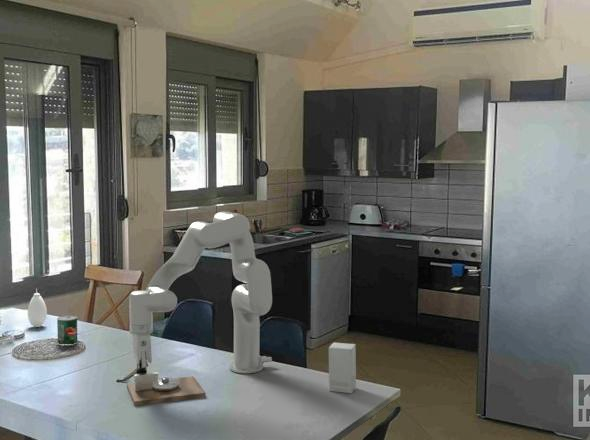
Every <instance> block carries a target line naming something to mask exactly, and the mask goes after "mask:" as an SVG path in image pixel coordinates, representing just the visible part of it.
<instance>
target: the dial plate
mask: <svg viewBox="0 0 590 440" xmlns="http://www.w3.org/2000/svg"><path fill="white" fill-rule="evenodd" d="M175 379H177V380H178V381H179V387H178V388H176V389H174V390H170V391H157V390H154V389H145V390H137V391H135V382H131V383H126V388H127V389H126V390H127V392H128V394H129V396H130V399H131V401H132V404H133V405H134V407H137V406H145V405H152V404H159V403H161V404H162V403H169V402H177V401H184V400H185V401H186V400H193V399H200V398H206V391H205V390H204V388H203V387H202V386H201V385H200V383H199V382H198V380H197V379H196V377H194V375H191V376H184V377H176V378H175Z"/></svg>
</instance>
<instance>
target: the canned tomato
mask: <svg viewBox="0 0 590 440" xmlns="http://www.w3.org/2000/svg"><path fill="white" fill-rule="evenodd" d="M56 320H57V323H56V324H57V326H56V327H57V344H58V343H59V344H74V343H77V342H78V316H76V315H73V314H72V315H69V314H68V315H67V314H66V315H61V316H58V317H57V318H56ZM78 343H79V342H78ZM78 343H77V344H78Z"/></svg>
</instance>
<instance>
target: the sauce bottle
mask: <svg viewBox="0 0 590 440" xmlns="http://www.w3.org/2000/svg"><path fill="white" fill-rule="evenodd" d="M27 307H28V309H27V318H28V319H27V320H28V322H29V323H30V325H31V326H33V327H34V328H36V327H39V328H40V327H42V326H43V325H44V324H45V322H46V320H47V315H48V313H47V312H48V310H47V305H46V302H45V301H44V298H43V297H42V296H41V293H38V287H36V288H35V293H33V295H32V297H31V300H30V302H29V304H28V306H27Z"/></svg>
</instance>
